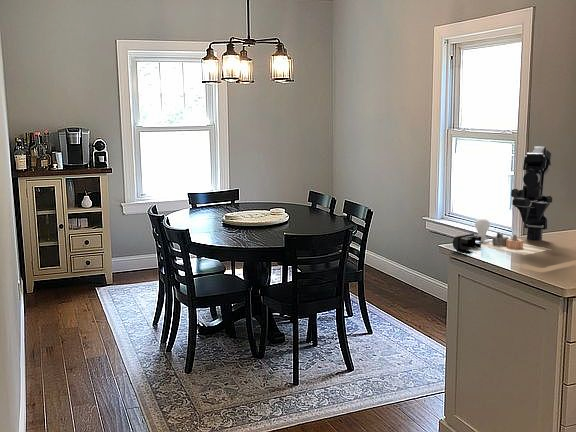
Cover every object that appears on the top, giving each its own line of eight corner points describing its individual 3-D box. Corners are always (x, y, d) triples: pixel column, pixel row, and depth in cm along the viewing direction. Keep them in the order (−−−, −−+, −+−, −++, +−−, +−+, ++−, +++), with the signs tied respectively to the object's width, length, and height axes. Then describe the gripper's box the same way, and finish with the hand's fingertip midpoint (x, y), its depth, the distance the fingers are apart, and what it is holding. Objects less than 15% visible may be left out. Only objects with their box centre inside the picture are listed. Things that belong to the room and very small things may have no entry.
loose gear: (512, 244, 269) (513, 237, 269) (526, 247, 264) (526, 240, 264) (502, 246, 266) (503, 239, 265) (516, 249, 261) (516, 242, 260)
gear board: (502, 242, 280) (503, 227, 279) (551, 252, 260) (552, 236, 259) (476, 247, 271) (476, 232, 270) (524, 258, 251) (525, 241, 250)
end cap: (467, 247, 272) (468, 232, 271) (481, 250, 266) (482, 234, 265) (451, 251, 266) (452, 235, 265) (465, 254, 260) (466, 238, 259)
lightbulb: (473, 243, 280) (474, 218, 278) (474, 240, 285) (475, 216, 284) (488, 244, 278) (489, 219, 276) (489, 241, 283) (490, 216, 281)
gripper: (530, 180, 274) (528, 216, 277) (502, 183, 264) (500, 220, 266) (554, 182, 265) (551, 219, 267) (525, 186, 255) (523, 224, 257)
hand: (531, 221), depth 265 cm, fingers open, 9 cm apart
